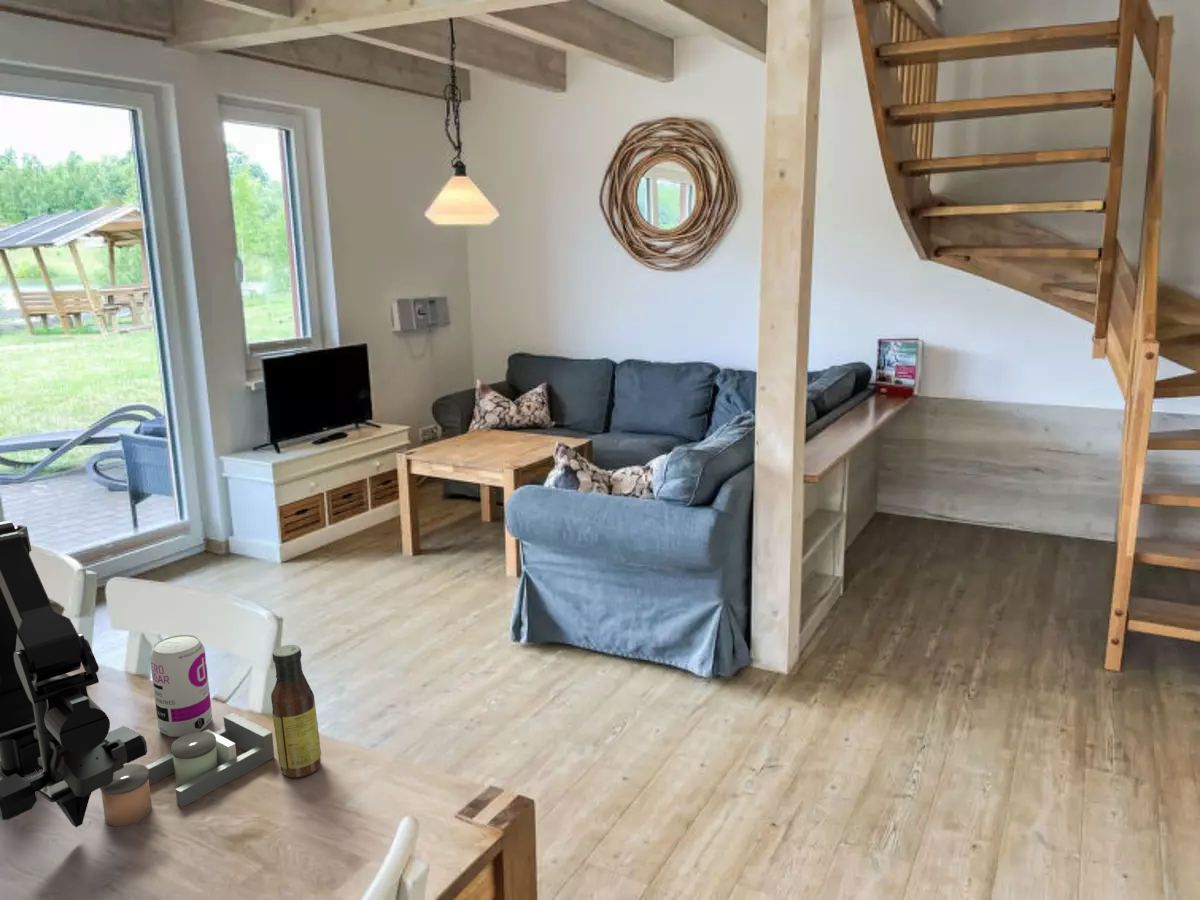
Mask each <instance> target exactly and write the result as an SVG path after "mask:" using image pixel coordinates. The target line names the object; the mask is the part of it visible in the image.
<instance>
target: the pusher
mask: <svg viewBox="0 0 1200 900" xmlns="http://www.w3.org/2000/svg"><path fill="white" fill-rule="evenodd" d="M202 732H209V733H212V734H214V735H215V737H216V750H217V759H218V767H219V766H221V765H223V764H225V763H226V762H228V761H230V760H232V759H234V758H236V757H238V756H237V747H236V746H235V743H234V742H232V741H230V740H228V739H226V738H224V737H222V736H220V735H218V734H216V733H214V731H213V730H210V729H209V728H207V729H205V730H203V731H202Z"/></svg>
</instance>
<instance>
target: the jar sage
mask: <svg viewBox="0 0 1200 900" xmlns="http://www.w3.org/2000/svg"><path fill="white" fill-rule="evenodd" d="M170 747H171V748H170V749H171V753H172V755H173V760H174V768H175V772H174V776H175V782H176V785H177V786H178V787H180V786H182V785H184V784H186V783H188V782H190V781H192V780H194V779H196V778H198V777H200V776H202V775H203V774H205V773H207V772H209V771H211V770H213V769H215V768H217V767H219V766H218V759H217V750H216V737H215V735H214V734H212V733H209V732H203V731H199V732H194V733H190V734H187V735H184V736H182V737H177V739H175V740H174V741H173V742H172V744H171V746H170Z"/></svg>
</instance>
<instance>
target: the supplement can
mask: <svg viewBox="0 0 1200 900" xmlns="http://www.w3.org/2000/svg"><path fill="white" fill-rule="evenodd" d="M206 657H207V656H206V649H205V646H204V644H203V642H201V641H200V638H199V637H198V636H196V635H194V634H193V635H192V634H178V635H171V636H168V637H165V638H163V639H160V640H159V641H157V642H156V643H154V644H153V646H152V651H151V653H150V655H149V662H150V673H151V677H152V678H151V679H152V687H153V694H154V702H155V711H156V717H157V727H158V729H159V731H160V733H162V734H164V735H165V736H167V735H168V736H167V737H173V738H180V737H182V736H184V735H187V734H190V733H194V732H202V729H203V730H204V729H206V727H208V726H209V724H210V723H211V722H212V719H213V711H212V702H211V694H210V686H209V677H208V668H207V659H206Z"/></svg>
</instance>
